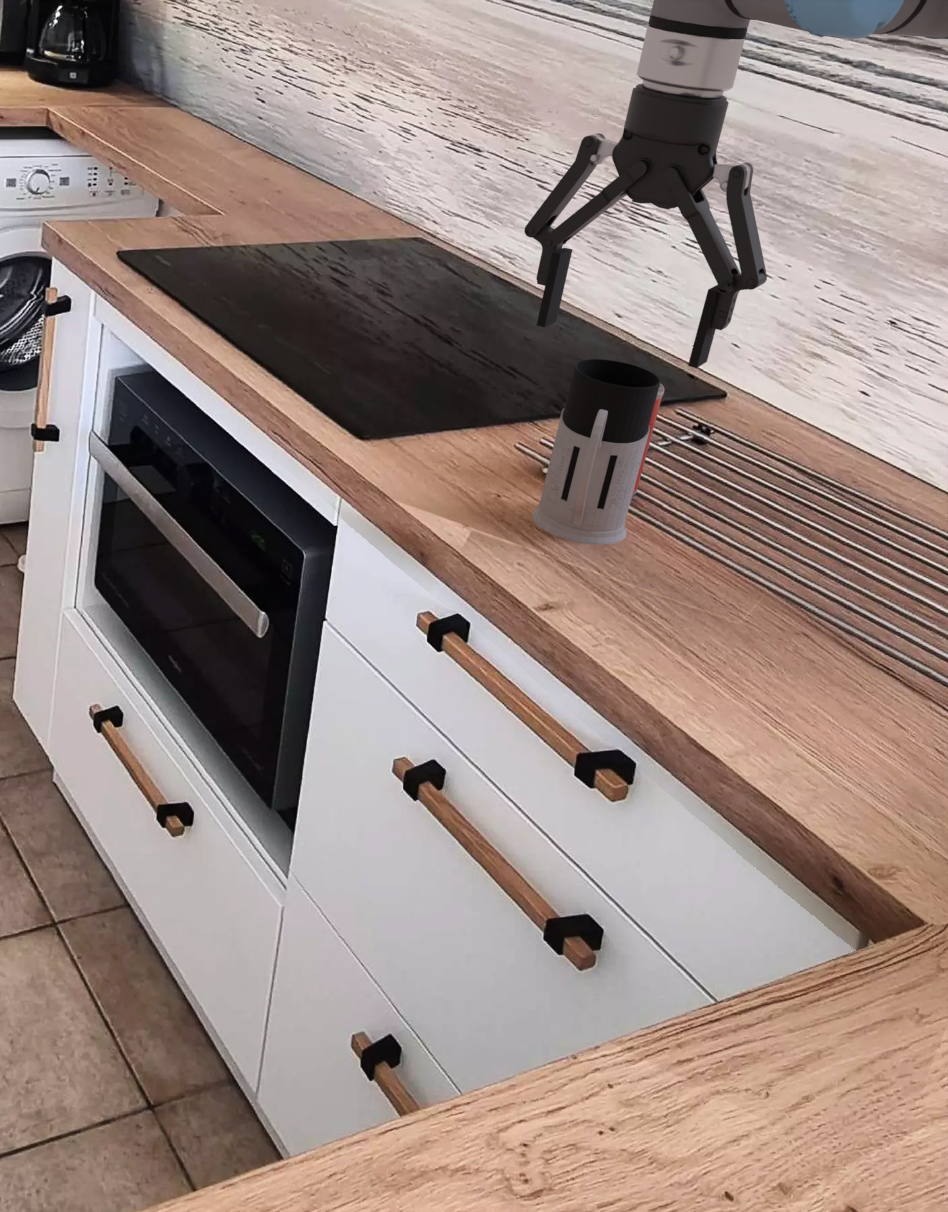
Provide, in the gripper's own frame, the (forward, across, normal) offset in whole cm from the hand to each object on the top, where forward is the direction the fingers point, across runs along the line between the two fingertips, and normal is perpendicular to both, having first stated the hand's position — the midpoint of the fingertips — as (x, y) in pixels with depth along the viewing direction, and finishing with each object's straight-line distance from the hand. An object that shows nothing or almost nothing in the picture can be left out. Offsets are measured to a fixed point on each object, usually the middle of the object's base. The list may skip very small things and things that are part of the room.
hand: (620, 343), depth 137 cm
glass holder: (+18, 0, 0) cm, 19 cm away
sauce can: (+18, -3, +14) cm, 23 cm away
